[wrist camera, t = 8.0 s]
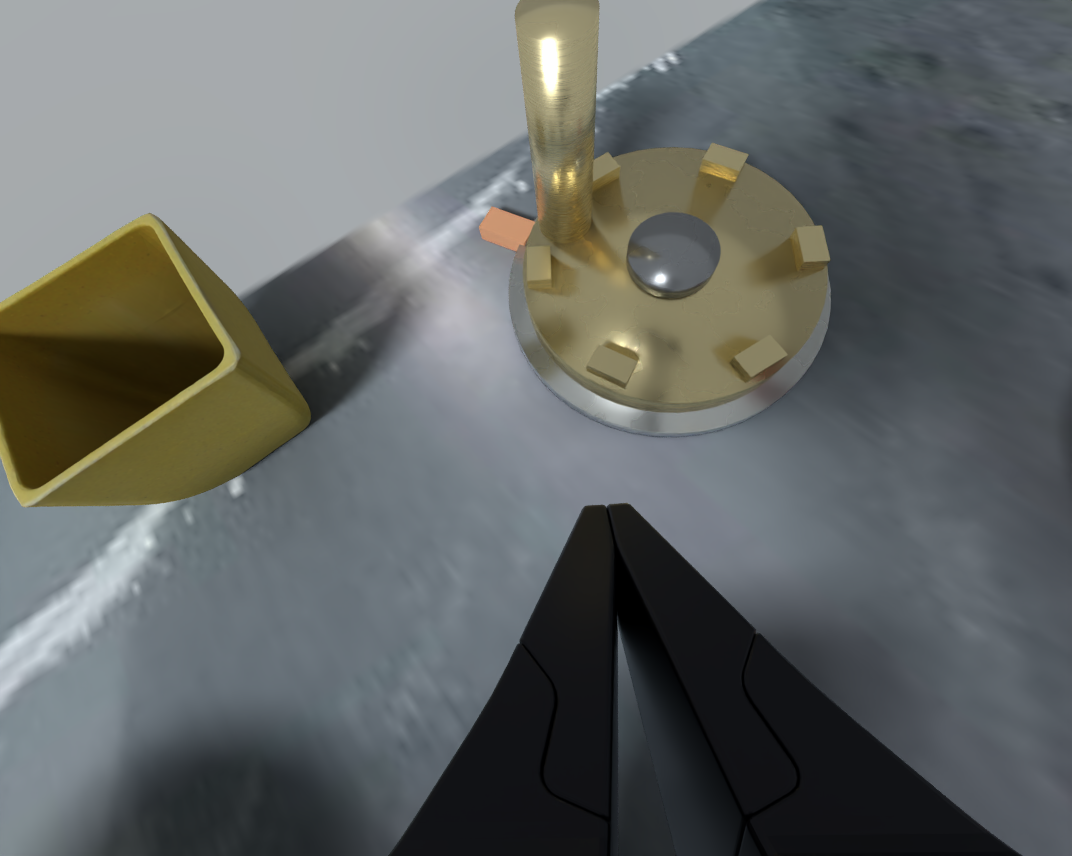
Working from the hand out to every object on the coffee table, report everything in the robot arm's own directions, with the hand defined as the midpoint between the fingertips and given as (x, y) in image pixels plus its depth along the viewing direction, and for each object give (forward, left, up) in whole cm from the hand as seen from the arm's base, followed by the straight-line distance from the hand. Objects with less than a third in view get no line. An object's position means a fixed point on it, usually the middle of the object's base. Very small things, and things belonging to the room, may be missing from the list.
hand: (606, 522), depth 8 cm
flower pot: (0, +20, -14) cm, 24 cm away
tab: (+15, +11, -14) cm, 23 cm away
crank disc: (+15, +1, -14) cm, 20 cm away
